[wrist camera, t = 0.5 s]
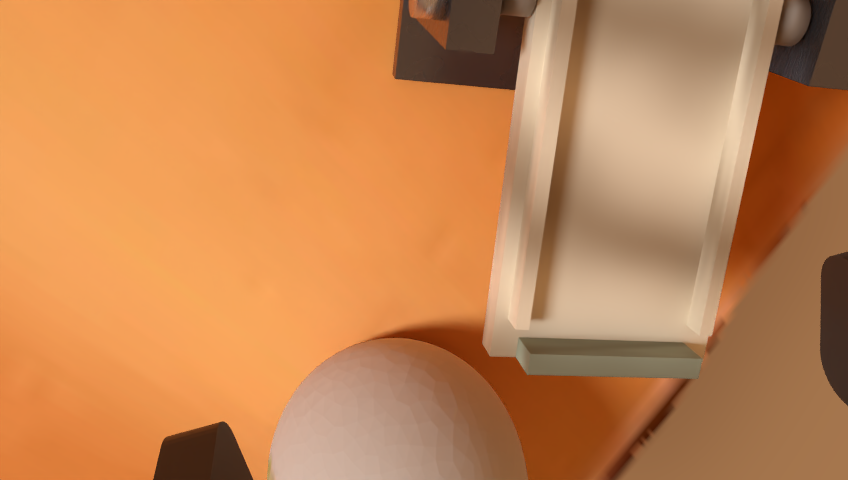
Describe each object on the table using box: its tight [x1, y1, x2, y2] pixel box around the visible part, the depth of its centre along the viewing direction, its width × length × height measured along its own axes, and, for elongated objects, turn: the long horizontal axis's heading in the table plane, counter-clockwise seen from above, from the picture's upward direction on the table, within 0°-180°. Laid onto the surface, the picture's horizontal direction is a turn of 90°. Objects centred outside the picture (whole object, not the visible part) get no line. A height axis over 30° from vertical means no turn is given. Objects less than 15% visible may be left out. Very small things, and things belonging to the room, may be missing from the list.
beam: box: [482, 0, 811, 379], centre depth 26 cm, size 26×11×3 cm, turn 173°
